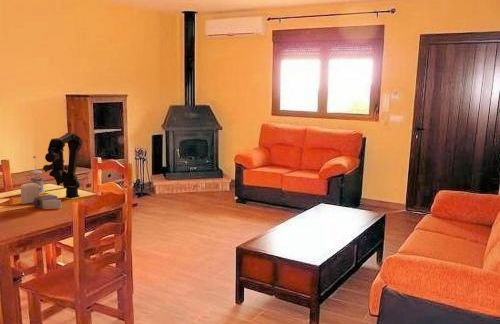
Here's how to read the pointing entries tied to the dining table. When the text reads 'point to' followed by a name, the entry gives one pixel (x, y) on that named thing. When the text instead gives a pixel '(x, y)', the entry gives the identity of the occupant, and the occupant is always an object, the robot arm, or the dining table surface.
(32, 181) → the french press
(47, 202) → the side door
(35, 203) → the camera body
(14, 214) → the dining table surface
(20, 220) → the dining table surface
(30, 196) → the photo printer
